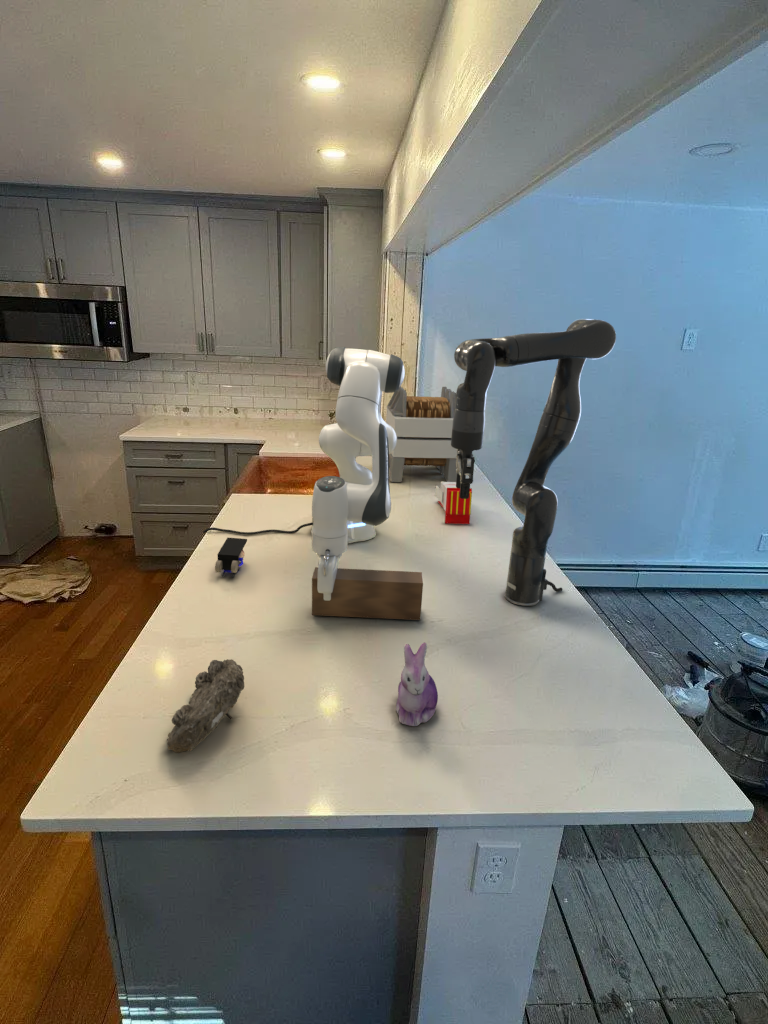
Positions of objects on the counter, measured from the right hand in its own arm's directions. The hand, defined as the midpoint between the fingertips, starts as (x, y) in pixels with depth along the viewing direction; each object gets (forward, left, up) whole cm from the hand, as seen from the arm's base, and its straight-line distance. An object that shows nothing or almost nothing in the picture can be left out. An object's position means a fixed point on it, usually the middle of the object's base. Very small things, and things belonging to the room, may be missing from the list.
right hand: (462, 492), depth 140 cm
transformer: (-44, -124, -33) cm, 136 cm away
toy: (-35, -70, -33) cm, 84 cm away
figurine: (+25, +35, -33) cm, 54 cm away
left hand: (+32, -7, -27) cm, 42 cm away
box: (+22, -4, -32) cm, 39 cm away
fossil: (+63, +25, -33) cm, 75 cm away
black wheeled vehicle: (+53, -39, -33) cm, 73 cm away
